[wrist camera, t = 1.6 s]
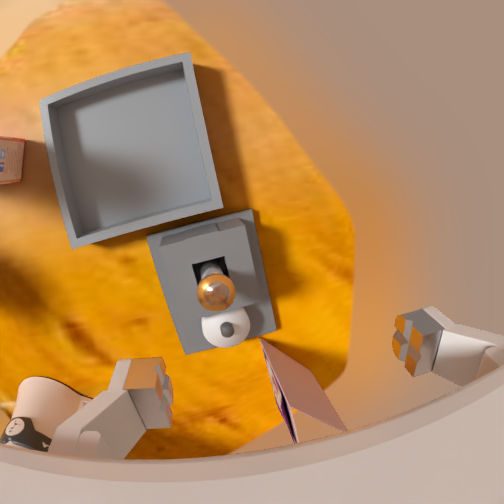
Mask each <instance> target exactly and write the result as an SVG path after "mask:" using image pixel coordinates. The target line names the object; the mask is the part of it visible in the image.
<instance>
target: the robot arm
mask: <svg viewBox="0 0 504 504" xmlns="http://www.w3.org/2000/svg"><path fill="white" fill-rule="evenodd" d="M395 327H396V329H397V331H396V332H395V334H394V335H393V340H392V346H393V351H394V353H395V355H396V357H397V358H398V359H399V360H401V361H404V362H405V368H406V369H407V370H408V372H409V373H410V374H411V375H412V376H413V377H416V376H419V375H422V374H425V373H428V372H431V371H432V372H433V373H435V374H437V375H439V376H441V377H443V378H445V379H447V380H449V381H451V382H453V383H455V384H457V385H459V386H461V388H458V389H456V390H454V391H452V392H450V393H448V394H445V395H443V396H441V397H439V398H437V399H434V400H432V401H430V402H427V403H425V404H423V405H420V406H418V407H415V408H413V409H410V410H407V411H405V412H402V413H400V414H397V415H394V416H391V417H389V418H386V419H383V420H380V421H377V422H374V423H371V424H368V425H365V426H362V427H358V428H355V429H352V430H348V431H344V432H341V433H337V434H333V435H330V436H326V437H322V438H318V439H314V440H309V441H305V442H301V443H296V444H291V445H286V446H281V447H276V448H271V449H264V450H258V451H252V452H245V453H238V454H230V455H221V456H212V457H200V458H185V459H156V460H133V459H124V458H125V457H126V456H127V454H128V453H129V452H130V451H131V449H132V448H133V447H134V446H135V444H136V443H137V442H138V441H139V439H140V438H141V437H142V435H143V434H144V433H145V432H146V429H156V428H170V427H171V421H172V411H171V408H170V406H171V405H172V404H173V388H172V384H171V380H170V377H169V376H168V375H166V374H165V372H166V365H165V362H164V359H163V358H162V357H152V358H135V359H120V360H119V361H118V362H117V364H116V367H115V370H114V373H113V376H112V379H111V382H110V385H109V388H108V390H107V391H103V392H101V393H100V394H99V395H98V396H96V397H95V398H94V399H90V398H87V397H84V396H81V395H79V394H77V393H76V392H74V391H73V390H71V389H70V388H68V387H67V386H65V385H63V384H61V383H59V382H57V381H55V380H52V379H49V378H44V377H30V378H27V379H25V380H24V381H23V382H22V383H21V384H20V386H19V389H18V396H17V401H16V405H15V409H14V412H13V415H12V418H11V421H10V422H9V423H8V425H7V426H6V428H5V430H4V432H3V434H2V436H1V438H0V504H504V336H502V335H499V334H494V333H491V332H487V331H483V330H479V329H476V328H472V327H468V326H464V325H460V324H458V325H455V324H454V323H453V322H452V321H451V320H449V319H448V318H447V317H446V316H444V315H443V314H442V313H441V312H440V311H438V310H437V309H436V308H435V307H433V306H428V307H425V308H422V309H419V310H416V311H413V312H410V313H406V314H402V315H398V316H397V318H396V320H395Z"/></svg>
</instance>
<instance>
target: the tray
mask: <svg viewBox="0 0 504 504" xmlns="http://www.w3.org/2000/svg"><path fill="white" fill-rule="evenodd" d="M39 101H40V110H41V117H42V124H43V130H44V137H45V142H46V148H47V153H48V159H49V163H50V168H51V173H52V177H53V182H54V186H55V190H56V194H57V198H58V202H59V206H60V210H61V214H62V217H63V221H64V224H65V228H66V231H67V234H68V238H69V241H70V244H71V247H72V249H75V248H78V247H81V246H84V245H88V244H91V243H94V242H98V241H101V240H105V239H108V238H111V237H115V236H118V235H122V234H125V233H129V232H132V231H136V230H140V229H143V228H147V227H150V226H154V225H158V224H161V223H165V222H169V221H173V220H177V219H180V218H184V217H188V216H192V215H196V214H200V213H204V212H208V211H212V210H216V209H220V208H224V207H223V203H222V199H221V194H220V190H219V185H218V181H217V176H216V172H215V167H214V163H213V158H212V154H211V149H210V144H209V140H208V135H207V130H206V126H205V121H204V116H203V112H202V107H201V102H200V98H199V93H198V88H197V83H196V78H195V73H194V69H193V64H192V59H191V54H190V52H188V53H183V54H178V55H174V56H169V57H165V58H161V59H157V60H153V61H149V62H145V63H141V64H138V65H134V66H131V67H127V68H124V69H120V70H117V71H114V72H111V73H108V74H105V75H102V76H99V77H96V78H93V79H90V80H88V81H85V82H82V83H79V84H77V85H74V86H72V87H69V88H67V89H64V90H62V91H59V92H57V93H55V94H52V95H50V96H48V97H45V98H43V99H41V100H39Z"/></svg>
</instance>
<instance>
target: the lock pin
mask: <svg viewBox="0 0 504 504" xmlns="http://www.w3.org/2000/svg"><path fill="white" fill-rule="evenodd" d="M199 267H200V274H201V281H200V283H199V284H198V287H197V297H198V301H199V303H200V304H201V305H202V306H203V307H204V308H205V309H207V310H210V311H222V310H225V309H227V308H228V307H229V306H230V305H231V304H232V303H233V302H234V300H235V296H236V289H235V286H234V284H233V282H232V280H231V279H230V278H229V277H227V276H225V275H223V272H222V269H221V266H220V263H219V260H218V258H215V259H211V260H207V261H203V262H199Z"/></svg>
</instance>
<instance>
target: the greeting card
mask: <svg viewBox="0 0 504 504" xmlns="http://www.w3.org/2000/svg"><path fill="white" fill-rule="evenodd" d="M259 339H260V342H261V346H262V350H263V354H264V357H265V361H266V365H267V369H268V372H269V376H270V380H271V384H272V387H273V391H274V394H275V399H276V403H277V406H278V408H279V411H280V413H281V415H282V416H283V418H284V420H285V422H286V424H287V426H288V428H289V431H290V434H291V436H292V439H293V441H294V444H296V443H299V439H298V435H297V430H296V426H295V422H294V418H293V413H292V409H291V407H292V408H294V409H296V410H298V411H300V412H302V413H304V414H306V415H308V416H311V417H312V418H315V419H317V420H319V421H321V422H323V423H325V424H327V425H330V426H332V427H334V428H336V429H338V430H341V431H343V432H344V431H348V430H347V428H346V426H345V425H344V423H343V422H342V420H341V419H340V417H339V415H338V414H337V412H336V411H335V409H334V407H333V406H332V404H331V403H330V401H329V399H328V398H327V396H326V394H325V393H324V391H323V390H322V388H321V386H320V385H319V383H318V382H317V380H316V378H315V377H314V375H313V374H312V372H311V371H310V370H309V369H307V368H306V367H304V366H303V365H301V364H300V363H298V362H296V361H295V360H293V359H292V358H290V357H289V356H287V355H286V354H284V353H283V352H281V351H280V350H278V349H277V348H275V347H274V346H272V345H271V344H269V343H268V342H266V341H265V340H263V339H262V338H260V337H259Z"/></svg>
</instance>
